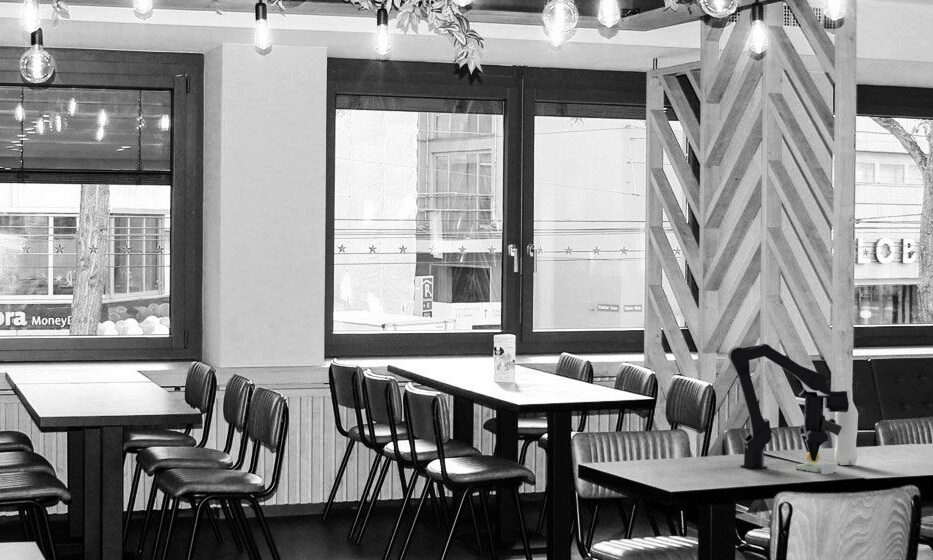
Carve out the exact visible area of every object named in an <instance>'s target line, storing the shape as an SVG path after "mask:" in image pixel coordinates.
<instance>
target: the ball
mask: <svg viewBox="0 0 933 560" xmlns="http://www.w3.org/2000/svg"><path fill="white" fill-rule="evenodd" d="M805 457H806V458H805V459H806V460H807V462H808V463H811V464H816V463H818V462H819V460H820V454H819V453H818V454H817V458H816V461H812V459H811V456H810V453H809V452H808V453H806V456H805Z"/></svg>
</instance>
